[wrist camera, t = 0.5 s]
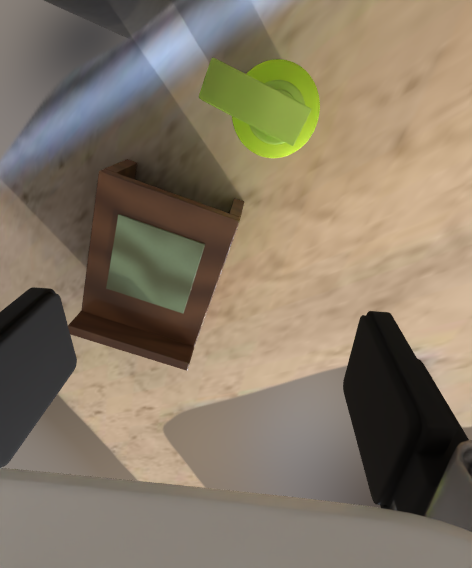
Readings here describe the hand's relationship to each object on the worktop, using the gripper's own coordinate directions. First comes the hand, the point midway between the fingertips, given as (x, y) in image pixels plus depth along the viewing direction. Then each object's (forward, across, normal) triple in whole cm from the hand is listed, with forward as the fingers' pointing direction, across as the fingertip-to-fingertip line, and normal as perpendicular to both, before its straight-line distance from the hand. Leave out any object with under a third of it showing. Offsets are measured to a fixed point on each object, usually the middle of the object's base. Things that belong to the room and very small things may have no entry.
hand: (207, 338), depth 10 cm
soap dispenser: (+30, -2, -6) cm, 31 cm away
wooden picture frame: (+30, +10, +10) cm, 33 cm away
